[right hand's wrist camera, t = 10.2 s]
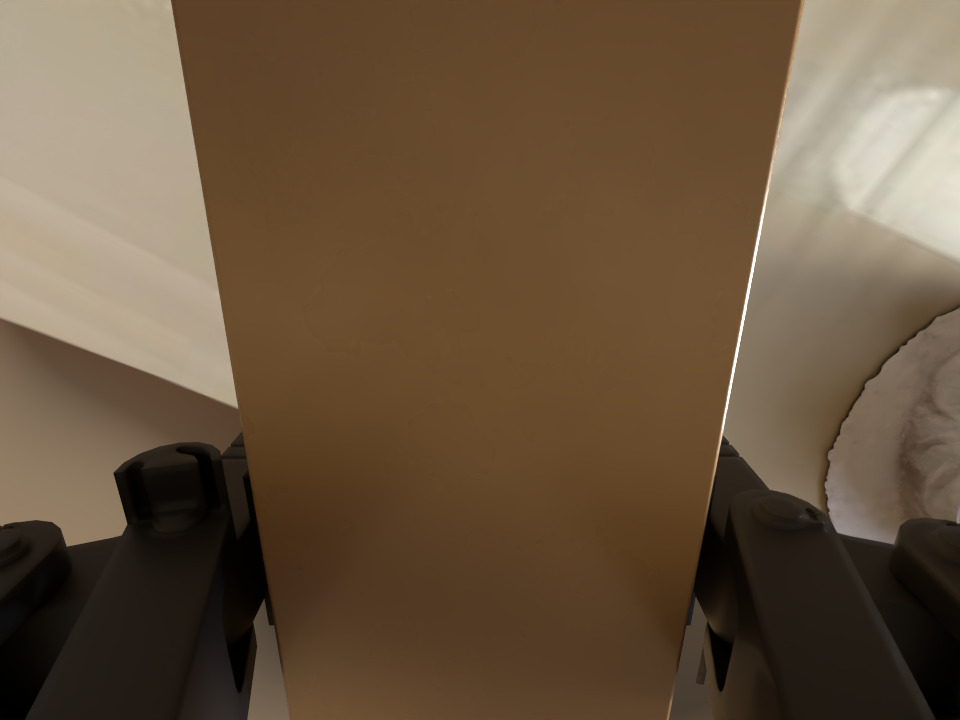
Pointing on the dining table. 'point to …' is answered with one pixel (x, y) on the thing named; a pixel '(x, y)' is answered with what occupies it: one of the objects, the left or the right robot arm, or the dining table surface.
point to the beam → (483, 329)
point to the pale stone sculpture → (902, 441)
